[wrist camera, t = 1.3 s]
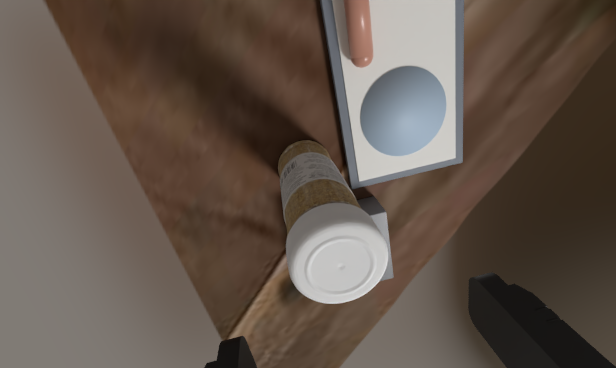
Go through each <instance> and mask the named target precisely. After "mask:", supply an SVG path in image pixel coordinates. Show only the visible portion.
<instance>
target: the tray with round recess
mask: <svg viewBox="0 0 616 368" xmlns="http://www.w3.org/2000/svg"><path fill="white" fill-rule="evenodd" d="M320 4H321V10H322V16H323V22H324V28H325V35H326V41H327V47H328V53H329V59H330V65H331V71H332V77H333V84H334V90H335V96H336V102H337V108H338V114H339V120H340V127H341V133H342V139H343V145H344V151H345V157H346V163H347V169H348V176H349V182H350V187H351V188H352V189H356V188H360V187H364V186H368V185H372V184H376V183H380V182H384V181H388V180H392V179H397V178H401V177H405V176H409V175H413V174H417V173H421V172H425V171H429V170H433V169H437V168H441V167H446V166H450V165H454V164H458V163H462V162H463V53H464V0H369V5H370V17H371V29H372V41H373V53H374V55H373V60H372V62H371V63H370V64H369V65H368V66H366V67H364V68H359V67H356V66H355V65H353V63H352V62H351V58H350V51H349V42H348V34H347V25H346V17H345V8H344V0H320Z"/></svg>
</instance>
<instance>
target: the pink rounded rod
mask: <svg viewBox="0 0 616 368" xmlns="http://www.w3.org/2000/svg"><path fill="white" fill-rule="evenodd" d="M344 8H345V17H346V25H347V34H348V42H349V51H350V58H351V62H352V63H353V65H355V66H356V67H359V68H364V67H366V66H368V65H369V64H370V63H371V62H372V60H373V55H374V53H373V41H372V29H371V17H370V5H369V0H344Z"/></svg>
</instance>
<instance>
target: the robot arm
mask: <svg viewBox="0 0 616 368" xmlns="http://www.w3.org/2000/svg"><path fill="white" fill-rule="evenodd" d="M468 308H469V314H470V317H471V320H472V322H473V324H474V325H475V327H476V328H477V330H478V331H479V332H480V334H481V335H482V336H483V338H484V339H485V340H486V341H487V343H488V344H489V345H490V347H491V348H492V349H493V350H494V352H495V353H496V354H497V356H498V357H499V358H500V360H501V361H502V362H503V363H504V365H505V366H506V367H507V368H616V367H615V366H614V365H613V364H612V363H610V362H609V361H608V360H607V359H606V358H605V357H603V355H601V354H600V353H599V352H598V351H597V350H596V349H595V348H594V347H592V346H591V345H590V344H589V343H588V342H587V341H586V340H585V339H583V338H582V337H581V336H580V335H579V334H578V333H577V332H576V331H574V330H573V329H572V328H571V327H570V326H569V325H568V324H567V323H565V322H564V321H563V320H560V318H559V317H558V315H556V314H555V313H554V312H553V311H552V310H551V309H548V308H547V306H546V305H545V304H544V303H543V302H542V301H541V300H540V299H539V298H537V297H536V296H535V295H534V294H533V293H531V292H529V291H527V290H525V289H523V288H522V287H520V286H518V285H515V284H512V285H507V284H506V283H505V282H504V281H503V280H502V279H501V278H500V277H499V276H498V275H496V274H495V273H487V274H483V275H480V276H476V277H472V278H470V279H469V307H468ZM205 368H257V366H256V363H255V361H254V358H253V356H252V354H251V351H250V349H249V346H248V344H247V342H246V339H245V337H244V336H240V337H236V338H233V339H229V340H225V341H221V343H220V345H219V351H218V357H217V361H213V362H210V363H207V364H206V366H205Z"/></svg>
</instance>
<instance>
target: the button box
mask: <svg viewBox="0 0 616 368" xmlns="http://www.w3.org/2000/svg"><path fill="white" fill-rule="evenodd" d="M357 202H358V204H359V205H360V207H361V209H362V210H364V211H365V212H366V213H367V214H369V216H370V217H371V218H372V219H373V221H374V222H375V224H376V226H377V227H378V229H379V231H380V232H381V234H382V235H383V237H384V239H385V241H386V244H387V248H388V263H387V267H386V270H385V272H384V274H383V276H382V278H381V279H380V281H382V280H386V279H390V278H394V277H393V269H392V260H391V251H390V242H389V233H388V224H387V215H386V211H385V210H384V208H383V207H382V206H381V205H380V203H379V202H378V201H377V199H376V198H375V197H374V196H372V197H368V198H364V199H360V200H357Z"/></svg>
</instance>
